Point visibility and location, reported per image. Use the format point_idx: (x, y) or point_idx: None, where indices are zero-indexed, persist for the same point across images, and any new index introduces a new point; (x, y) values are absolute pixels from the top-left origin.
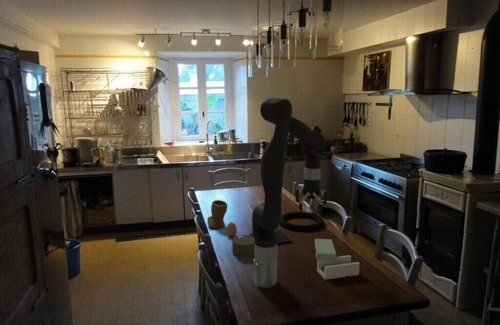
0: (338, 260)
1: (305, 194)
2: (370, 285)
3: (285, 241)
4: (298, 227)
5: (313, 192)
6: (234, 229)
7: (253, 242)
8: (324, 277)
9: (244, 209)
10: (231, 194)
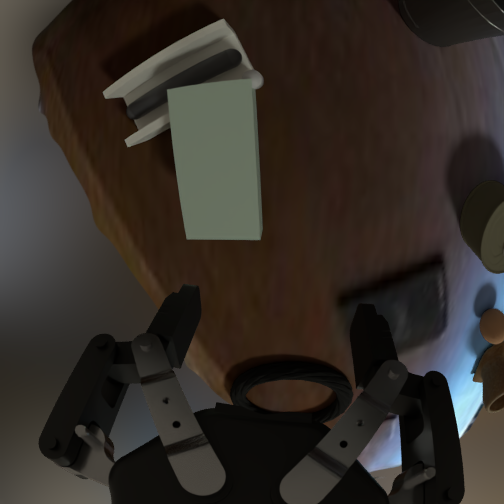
0: None
1: (345, 471)
2: (106, 44)
3: (357, 301)
4: (305, 371)
5: (212, 498)
6: (493, 322)
7: (492, 217)
8: (235, 33)
9: None
10: None
